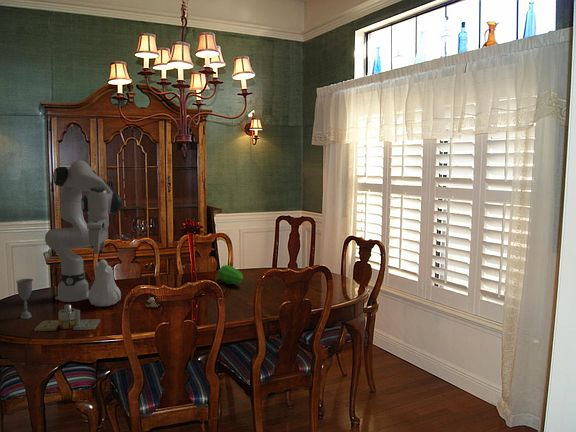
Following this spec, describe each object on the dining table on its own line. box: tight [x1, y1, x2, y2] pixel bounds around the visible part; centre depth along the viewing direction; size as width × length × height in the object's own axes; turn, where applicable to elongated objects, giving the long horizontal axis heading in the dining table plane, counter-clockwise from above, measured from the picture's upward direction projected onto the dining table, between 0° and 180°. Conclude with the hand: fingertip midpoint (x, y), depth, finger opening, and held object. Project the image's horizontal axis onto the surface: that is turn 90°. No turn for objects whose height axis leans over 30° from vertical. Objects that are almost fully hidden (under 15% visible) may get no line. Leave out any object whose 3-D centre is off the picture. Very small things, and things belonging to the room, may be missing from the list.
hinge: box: [33, 307, 101, 332], centre depth 226 cm, size 11×25×7 cm, turn 97°
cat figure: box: [144, 296, 195, 308], centre depth 262 cm, size 10×9×25 cm
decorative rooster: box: [88, 259, 122, 307], centre depth 262 cm, size 25×16×25 cm, turn 19°
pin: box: [63, 303, 72, 313], centre depth 226 cm, size 3×3×10 cm
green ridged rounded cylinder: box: [218, 264, 244, 285], centre depth 307 cm, size 11×12×30 cm
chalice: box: [15, 278, 34, 320], centre depth 238 cm, size 7×7×18 cm
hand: (99, 252), depth 231 cm, fingers open, 8 cm apart
